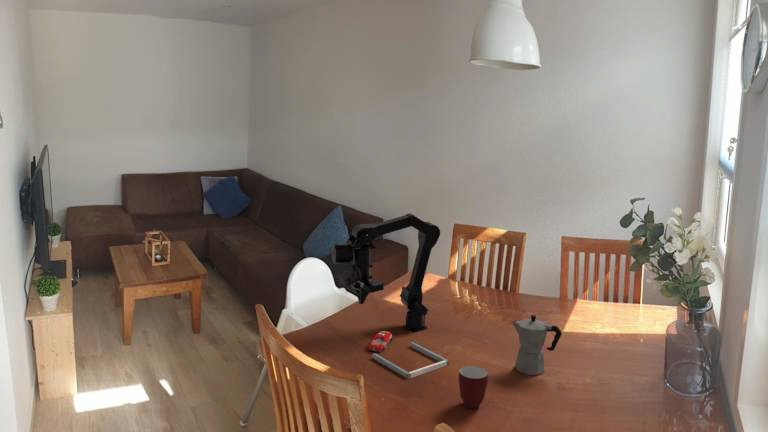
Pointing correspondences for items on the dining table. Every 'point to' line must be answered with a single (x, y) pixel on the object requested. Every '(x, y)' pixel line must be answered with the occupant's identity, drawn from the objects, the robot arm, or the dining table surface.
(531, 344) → the coffeepot
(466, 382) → the mug
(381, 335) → the race car
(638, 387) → the dining table surface
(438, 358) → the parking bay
